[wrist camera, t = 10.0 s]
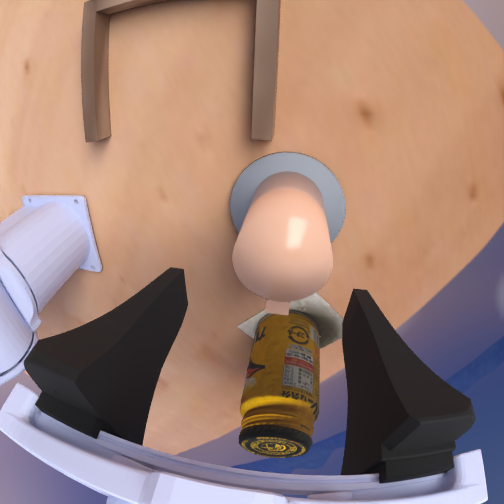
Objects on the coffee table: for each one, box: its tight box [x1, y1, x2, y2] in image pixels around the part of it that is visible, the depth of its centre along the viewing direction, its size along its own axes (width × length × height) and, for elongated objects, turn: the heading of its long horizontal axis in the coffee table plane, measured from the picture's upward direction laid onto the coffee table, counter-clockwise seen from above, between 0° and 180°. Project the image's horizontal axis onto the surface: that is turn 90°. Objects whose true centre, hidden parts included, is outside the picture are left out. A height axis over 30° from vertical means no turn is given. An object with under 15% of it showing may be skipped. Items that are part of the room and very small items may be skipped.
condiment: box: [237, 292, 343, 458], centre depth 22 cm, size 7×8×12 cm
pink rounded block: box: [232, 171, 333, 315], centre depth 17 cm, size 7×5×7 cm
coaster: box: [230, 152, 346, 243], centre depth 20 cm, size 8×8×1 cm
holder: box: [81, 0, 280, 142], centre depth 15 cm, size 13×11×2 cm
